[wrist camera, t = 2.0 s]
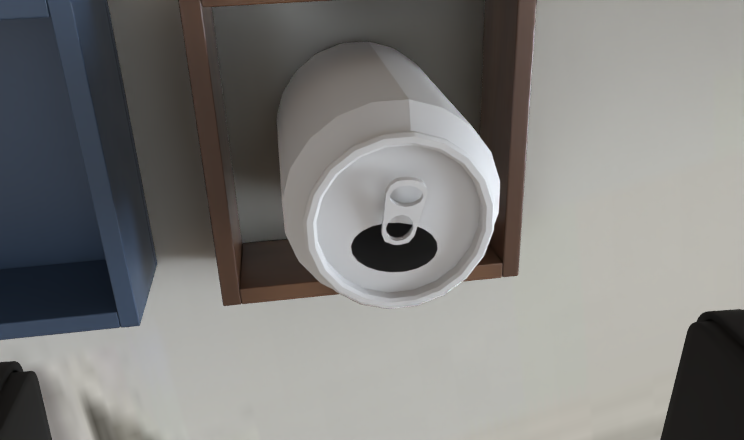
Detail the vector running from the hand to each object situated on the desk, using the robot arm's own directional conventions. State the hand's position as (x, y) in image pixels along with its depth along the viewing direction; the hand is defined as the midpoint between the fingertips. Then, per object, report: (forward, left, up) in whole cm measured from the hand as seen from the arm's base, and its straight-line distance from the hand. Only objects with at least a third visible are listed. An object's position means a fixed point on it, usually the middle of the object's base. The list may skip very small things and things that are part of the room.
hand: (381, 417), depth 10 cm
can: (0, +4, -24) cm, 24 cm away
